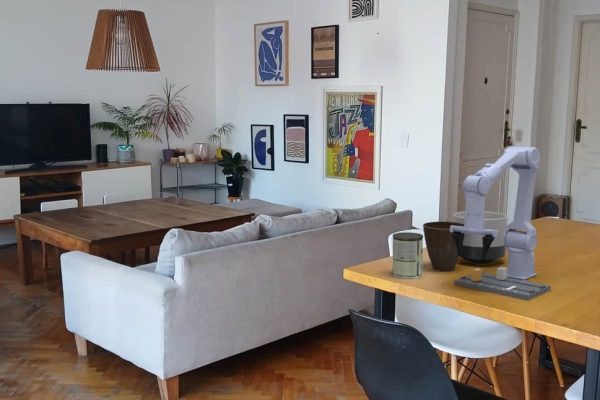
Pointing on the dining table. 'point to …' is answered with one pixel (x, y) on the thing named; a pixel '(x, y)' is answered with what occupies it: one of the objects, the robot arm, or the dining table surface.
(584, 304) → the dining table surface
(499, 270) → the grey fader knob
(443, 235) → the plant pot
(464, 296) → the dining table surface
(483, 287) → the console
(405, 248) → the coffee can
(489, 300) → the dining table surface
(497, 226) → the planter
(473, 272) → the orange fader knob
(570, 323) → the dining table surface
